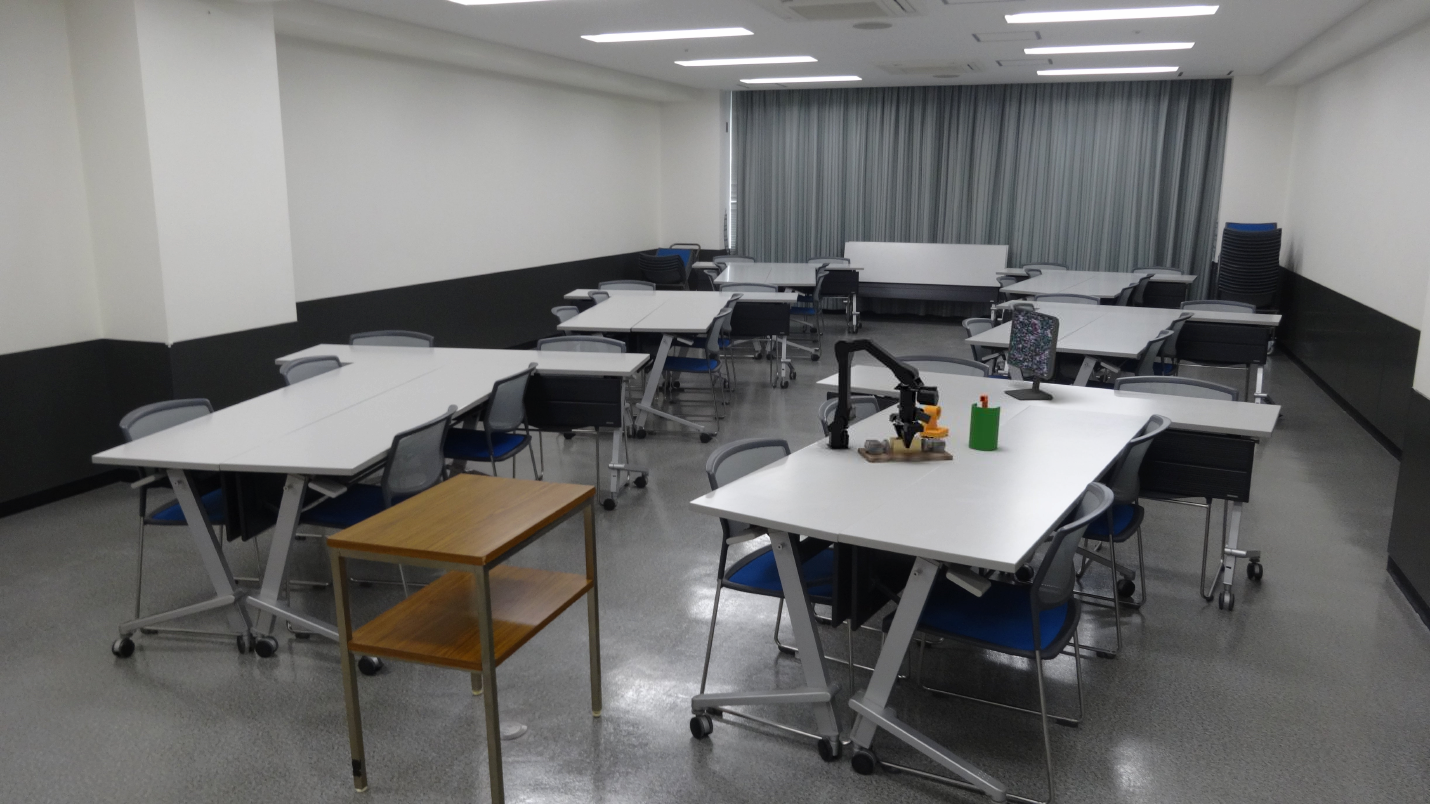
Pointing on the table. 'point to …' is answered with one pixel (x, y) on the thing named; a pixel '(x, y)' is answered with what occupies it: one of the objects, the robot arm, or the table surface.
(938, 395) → the robot arm
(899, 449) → the block
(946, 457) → the shaft mount
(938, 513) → the table surface
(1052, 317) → the computer monitor
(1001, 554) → the table surface
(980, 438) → the green tall cylinder
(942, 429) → the bracket
